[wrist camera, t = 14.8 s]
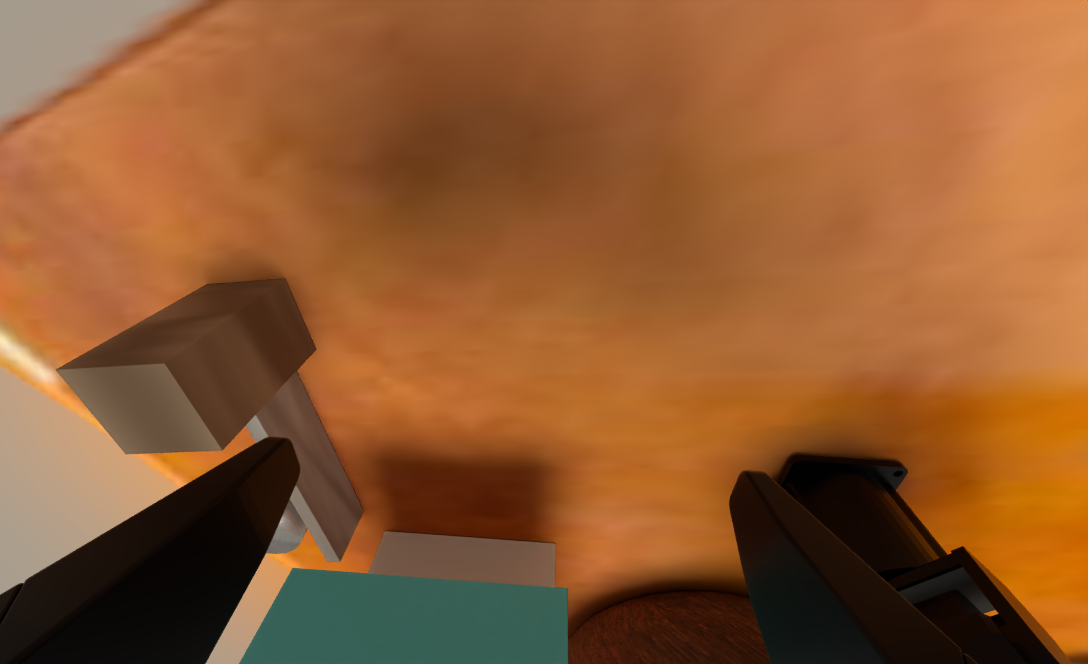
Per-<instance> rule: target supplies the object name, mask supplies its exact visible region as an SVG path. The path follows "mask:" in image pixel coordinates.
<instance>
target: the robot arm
mask: <svg viewBox="0 0 1088 664" xmlns="http://www.w3.org/2000/svg"><path fill="white" fill-rule="evenodd" d="M907 473H908V470H907V469H906V468H905V467H904V465H903V464H901V463H899V462H889V461H875V460H861V459H847V458H833V457H819V456H804V455H796V456H793V457H792V458H790V459H789V461H788V462H787V464H786V466H785V468H784V470H783V472H782V474H781V476H780V478H779V480H778V482H777V483H776V482H775V481H774V480H773V479H772V478H771V477H770V476H768V475H767V474H766V473H764V472H760V471H747V470H745V471H742V472H741V473H740V475H739V477H738V479H737V482H736V484H735V486H734V489H733V491H732V493H731V496H730V500H729V508H730V513H731V518H732V522H733V527H734V532H735V537H736V541H737V546H738V551H739V555H740V560H741V565H742V569H743V574H744V578H745V583H746V587H747V590H748V594H749V597H750V600H751V604H752V607H753V610H754V613H755V616H756V619H757V622H758V625H759V629H760V632H761V635H762V638H763V641H764V644H765V647H766V650H767V653H768V657H769V660H770V663H771V664H1072V663H1071V661H1070V660H1069V659H1068V658H1067V656H1066V655H1065V654H1064V652H1063V651H1062V650H1061V649H1060V647H1059V646H1058V645H1057V643H1056V642H1055V641H1054V640H1053V639H1052V637H1051V636H1050V635H1049V634H1048V633H1047V632H1046V631H1045V630H1044V628H1043V627H1042V626H1041V625H1040V624H1039V623H1038V622H1037V621H1036V619H1035V618H1034V617H1033V616H1032V615H1031V614H1030V613H1029V612H1028V611H1027V609H1026V608H1025V607H1024V606H1023V605H1022V604H1021V603H1020V602H1019V601H1018V599H1017V598H1016V597H1015V596H1014V595H1013V594H1012V593H1011V592H1010V591H1009V589H1008V588H1007V587H1006V586H1005V585H1004V584H1003V583H1002V582H1001V581H1000V580H998V579H997V578H996V577H995V576H994V575H993V574H992V573H991V572H990V571H989V570H988V569H987V568H986V567H985V566H984V565H983V564H982V563H980V562H979V561H978V560H977V559H976V558H975V557H974V556H973V555H972V554H971V553H970V552H969V551H968V550H967V549H966V548H965V547H963V546H962V547H959V548H957V549H954V550H952V551H951V552H952V553H951V554H949V555H947V553H946V552H945V551H944V550H943V548H942V547H941V546H940V545H939V543H938V542H937V541H936V540H935V538H934V537H933V536H932V535H931V534H930V532H929V531H928V530H927V529H926V527H925V526H924V525H923V524H922V522H921V521H920V520H919V519H918V517H917V516H916V515H915V514H914V513H913V511H912V510H911V509H910V508H909V506H908V505H907V504H906V503H905V501H904V500H903V499H902V498H901V497H900V495H899V494H898V493H897V492H896V489H897V487H898V486H899V485H900V483H901V482H902V481H903V479H904V478H905V476H906V475H907ZM299 475H300V463H299V461H298V458H297V455H296V452H295V449H294V446H293V443H292V441H291V440H290V439H289V438H285V437H266V438H264V439H262V440H260V441H259V442H257V443H255V444H254V445H252V446H250V447H248V448H247V449H245V450H243V451H242V452H240V453H238V454H237V455H235V456H233V457H232V458H230V459H228V460H227V461H225V462H223V463H221V464H220V465H218V466H216V467H215V468H213V469H211V470H210V471H208V472H206V473H205V474H203V475H201V476H200V477H198V478H196V479H195V480H193V481H191V482H189V483H188V484H186V485H184V486H183V487H181V488H179V489H178V490H176V491H174V492H173V493H171V494H169V495H168V496H166V497H164V498H163V499H161V500H159V501H157V502H156V503H154V504H152V505H151V506H149V507H147V508H146V509H144V510H142V511H141V512H139V513H137V514H136V515H134V516H132V517H131V518H129V519H127V520H126V521H124V522H122V523H120V524H119V525H117V526H115V527H114V528H112V529H110V530H109V531H107V532H105V533H104V534H102V535H100V536H99V537H97V538H95V539H93V540H92V541H90V542H89V543H87V544H85V545H83V546H82V547H80V548H78V549H77V550H75V551H73V552H72V553H70V554H68V555H67V556H65V557H63V558H61V559H60V560H58V561H56V562H55V563H53V564H51V565H50V566H48V567H46V568H45V569H43V570H41V571H39V572H38V573H36V574H34V575H33V576H31V577H29V578H28V579H27V580H26V581H25V582H24V583H20V584H18V585H16V586H14V587H12V588H11V589H9V590H7V591H6V592H4V593H2V594H1V595H0V664H205V663H206V662H207V660H208V658H209V656H210V654H211V652H212V651H213V649H214V647H215V645H216V643H217V642H218V640H219V638H220V636H221V634H222V633H223V631H224V629H225V627H226V625H227V623H228V622H229V620H230V618H231V616H232V614H233V613H234V611H235V609H236V607H237V605H238V604H239V602H240V600H241V598H242V596H243V594H244V593H245V591H246V589H247V587H248V585H249V584H250V582H251V580H252V578H253V576H254V575H255V573H256V571H257V569H258V567H259V565H260V564H261V562H262V560H263V558H264V556H265V554H266V552H267V550H268V548H269V546H270V543H271V541H272V539H273V537H274V534H275V532H276V530H277V528H278V525H279V523H280V521H281V518H282V516H283V514H284V511H285V509H286V507H287V504H288V502H289V500H290V497H291V495H292V493H293V490H294V488H295V486H296V483H297V481H298V479H299ZM993 610H996V611H997V612H998V614H997V615H994V616H991V617H990V616H987V615H985V614H984V613H987V612H990V611H993Z"/></svg>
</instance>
